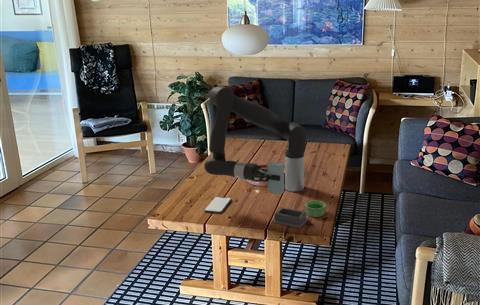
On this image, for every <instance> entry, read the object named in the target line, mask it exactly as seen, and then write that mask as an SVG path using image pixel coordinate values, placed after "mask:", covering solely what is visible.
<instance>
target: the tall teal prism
mask: <svg viewBox="0 0 480 305" xmlns="http://www.w3.org/2000/svg"><path fill="white" fill-rule="evenodd" d="M267 166H268V174H272V175H278V176H280V181H276V180H268V182H267V193H269V194H275V195H282V194H284V193H285V162H283V163H282V162H278V161H277V162H275V161H270V162H268V163H267Z"/></svg>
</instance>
